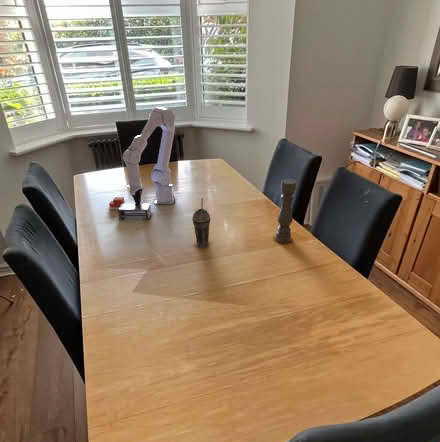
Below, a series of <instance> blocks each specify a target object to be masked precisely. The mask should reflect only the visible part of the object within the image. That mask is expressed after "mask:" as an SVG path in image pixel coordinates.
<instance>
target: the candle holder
mask: <svg viewBox="0 0 440 442" xmlns="http://www.w3.org/2000/svg"><path fill="white" fill-rule="evenodd" d="M296 190H297V180H295V179H293V178H284V179H282V180H281V181H280V191H281V195H280V199H281V208H280V210H279V213H278V215H277V222H278V227H277V228H276V232H275V241H276V242H278V243H280V244H287V243H290V242H291V239H292V238H291V237H292V232H291V231H292V229H291V227H290V226H291V225H292V223H293V220H294V218H293V211H292V209H293V208H292V205H293V204H292V203H293V200H294V199H295V195H294V194H295V192H296Z"/></svg>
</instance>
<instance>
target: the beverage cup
mask: <svg viewBox="0 0 440 442" xmlns="http://www.w3.org/2000/svg"><path fill="white" fill-rule="evenodd" d="M200 199H201V203H200V204H201V207H200V208H199V209H196V210H195V211H194V213H193V214H192V224H193V227H194V234H195V241H196V246H197V247H198V248H200V249H201V248H208V246H209V240H210V239H209V238H210V237H209V236H210V224H211V216H210V212H208V211H207V210H206V209H204V208H203V205H204V198H203V197H201V198H200Z"/></svg>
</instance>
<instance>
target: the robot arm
mask: <svg viewBox="0 0 440 442" xmlns="http://www.w3.org/2000/svg"><path fill="white" fill-rule="evenodd" d="M175 120H176V115H175V113H174V111H173V110H172V109H171V108H165V107H160V106H155V107H153V108H152V110H151V111H150V113H149V118H148V120H147V122H146V123H145V125H144V127H143V129H142V130H141V133H140V135H136V136H134V138H133V140H132V142H131V144H130V145H129V146H128V148H127V149H126V150H125V151H124V152H123V154H122V157H121V158H122V161H123V162H124V163H125V166H126V174H127V179H128V183H129V184H128V185H126V189H129V195H130V196H132V198H133V201H134V204H142V193H143V190H144V188H143V185H142V179H141V172H140V171H141V170H140V165H139V163H140V162H141V156H142V153H143V152H144V150H145V149H146V147H147V146H148V139H149V138H150V136H151V135H152V134H153V132H154V131H155V130H156V128H157V127H160V128H161V129H162V135H161V140H160V146H159V152H158V156H157V163H156V164H155V165H154V166H153V167H152V168H153V169H152V171H151V172H150V180H151V181H152V182H153V184H154V193H155V201H154V204H155V205H159V204H160V205H169V204H170V205H173V204H174V202H175V190H174V184H171V182H172V176H171V174H172V171H171V168H170V167H169V165H170V158H171V153H172V147H173V142H174V137H175V130H176V126H175Z"/></svg>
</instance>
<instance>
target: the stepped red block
mask: <svg viewBox="0 0 440 442" xmlns="http://www.w3.org/2000/svg"><path fill="white" fill-rule="evenodd" d="M108 204H109V205H108V206H109V207H108V208H109V210H118V208H119V207H120V205H121V204H126V202H125V197H124V196H115V197H114V198H113V199H112V200H110V201H109V203H108Z"/></svg>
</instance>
